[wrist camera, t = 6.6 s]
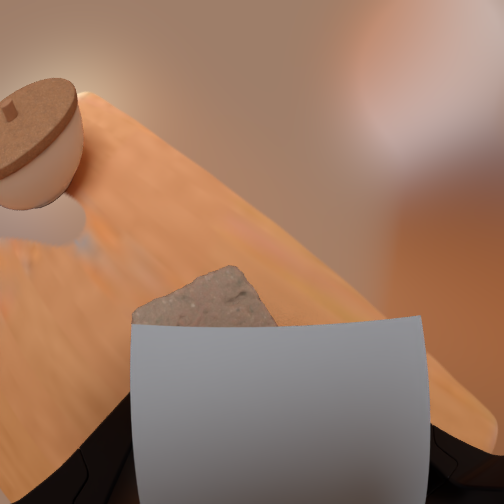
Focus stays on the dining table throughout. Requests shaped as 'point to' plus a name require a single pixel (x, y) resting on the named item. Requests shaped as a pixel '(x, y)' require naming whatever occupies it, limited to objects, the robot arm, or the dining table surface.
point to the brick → (208, 304)
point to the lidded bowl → (39, 143)
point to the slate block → (281, 413)
